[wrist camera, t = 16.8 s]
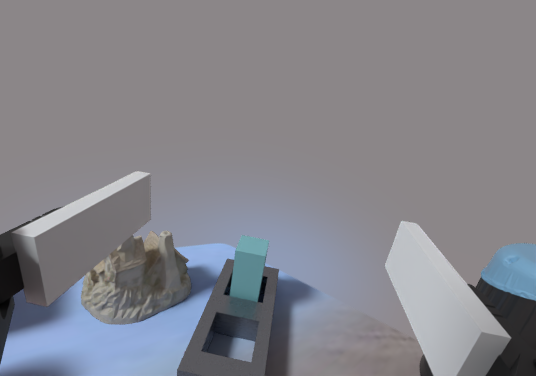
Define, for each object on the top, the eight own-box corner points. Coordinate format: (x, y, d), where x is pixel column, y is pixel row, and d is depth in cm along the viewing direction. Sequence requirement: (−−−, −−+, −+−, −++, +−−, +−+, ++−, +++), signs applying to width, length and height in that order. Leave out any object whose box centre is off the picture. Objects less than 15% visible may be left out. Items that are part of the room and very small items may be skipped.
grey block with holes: (225, 275, 53) (227, 258, 52) (275, 286, 53) (278, 269, 51) (176, 392, 33) (177, 369, 31) (257, 412, 32) (262, 389, 31)
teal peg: (259, 297, 49) (269, 240, 45) (254, 316, 45) (265, 256, 41) (234, 291, 50) (242, 235, 45) (227, 311, 45) (235, 250, 41)
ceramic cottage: (201, 298, 47) (201, 219, 42) (87, 344, 37) (70, 248, 32) (170, 254, 58) (167, 188, 53) (77, 280, 49) (63, 202, 44)
